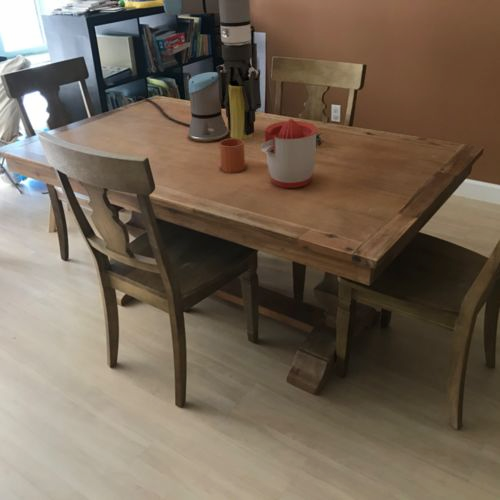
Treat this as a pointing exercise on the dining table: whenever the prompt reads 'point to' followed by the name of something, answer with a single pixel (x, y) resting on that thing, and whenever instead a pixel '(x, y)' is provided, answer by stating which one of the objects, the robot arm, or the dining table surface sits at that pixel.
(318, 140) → the rhino figurine
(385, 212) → the dining table surface
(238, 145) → the terracotta cup
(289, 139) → the citrus juicer
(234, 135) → the vase
